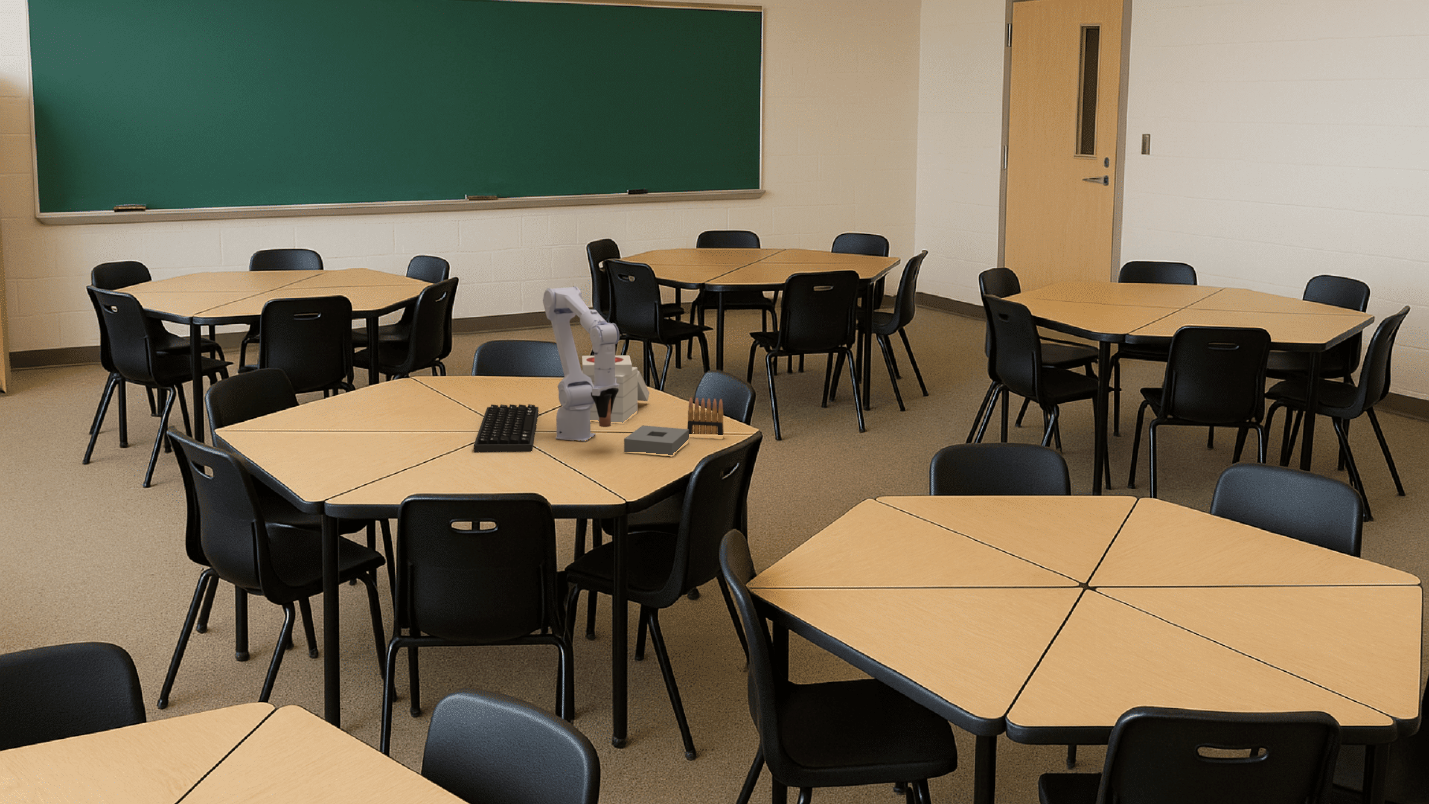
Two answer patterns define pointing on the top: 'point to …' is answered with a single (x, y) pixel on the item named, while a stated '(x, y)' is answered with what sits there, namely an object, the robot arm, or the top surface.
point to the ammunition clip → (705, 417)
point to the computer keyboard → (507, 429)
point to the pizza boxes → (620, 388)
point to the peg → (606, 421)
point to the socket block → (656, 440)
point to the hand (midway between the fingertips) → (604, 415)
